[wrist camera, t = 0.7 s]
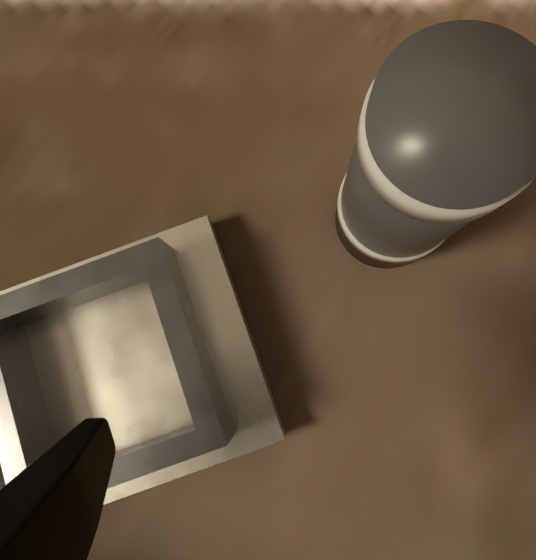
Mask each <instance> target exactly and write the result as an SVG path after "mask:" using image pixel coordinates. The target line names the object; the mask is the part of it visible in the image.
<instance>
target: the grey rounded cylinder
mask: <svg viewBox="0 0 536 560" xmlns="http://www.w3.org/2000/svg"><path fill="white" fill-rule="evenodd" d="M535 178H536V46H535V45H534V44H533V43H532V42H530V41H529V40H527V39H526V38H525V37H523V36H522V35H520V34H518V33H516V32H514V31H512V30H510V29H508V28H505V27H503V26H500V25H497V24H493V23H489V22H483V21H476V20H457V21H448V22H444V23H439V24H436V25H433V26H430V27H427V28H425V29H423V30H421V31H419V32H417V33H415V34H413V35H411V36H410V37H408V38H407V39H405V40H404V41H403V42H402V43H401V44H399V45H398V46H397V47H396V48H395V49H394V50H393V51H392V52H391V53H390V55H389V56H388V57H387V58H386V60H385V61H384V63H383V64H382V66H381V67H380V69H379V71H378V73H377V75H376V78H375V79H374V81H373V82H372V84H371V86H370V88H369V90H368V92H367V95H366V98H365V101H364V105H363V108H362V112H361V115H360V119H359V122H358V128H357V133H356V144H355V148H354V151H353V154H352V158H351V161H350V164H349V168H348V171H347V173H346V175H345V177H344V179H343V181H342V184H341V187H340V191H339V194H338V200H337V209H336V217H335V222H336V229H337V233H338V236H339V238H340V240H341V242H342V244H343V245H344V247H345V248H346V250H347V251H348V252H349V253H350V254H351V255H352V256H354V257H355V258H356V259H358V260H359V261H361V262H363V263H365V264H367V265H370V266H373V267H378V268H396V267H401V266H404V265H407V264H409V263H411V262H413V261H414V260H417V259H419V258H421V257H423V256H425V255H427V254H428V253H430V252H431V251H433V250H434V249H436V248H437V247H439V246H440V245H441V244H442V243H443V242H444V241H445V240H446V239H447V238H448V237H450V236H451V235H452V234H454V233H455V232H457V231H458V230H460V229H461V228H463V227H464V226H466V225H467V224H469V223H470V222H472V221H473V220H475V219H478V218H481V217H483V216H485V215H487V214H489V213H491V212H492V211H494V210H495V209H497V208H498V207H500V206H501V205H503V204H505V203H506V202H508V201H509V200H511V199H512V198H514V197H515V196H517V195H518V194H520V193H521V192H522V191H523V190H524V189H525V188H526V187H528V186H529V185H530V183H531V182H532V181H533V180H534V179H535Z"/></svg>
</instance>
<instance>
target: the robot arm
mask: <svg viewBox="0 0 536 560" xmlns="http://www.w3.org/2000/svg"><path fill="white" fill-rule="evenodd" d="M115 452H116V448H115V442H114V439H113V436H112V433H111V429H110V426H109V423H108V421H107V419H105V418H86V419H84V420H83V421H82V422H81V423H79V424H78V425H77V426H76V427H75V428H73V429H72V430H71V431H70V432H69V433H67V434H66V435H65V436H64V437H63V438H61V439H60V440H59V441H58V442H57V443H55V444H54V445H53V446H52V447H51V448H49V449H48V450H47V451H46V452H45V453H43V454H42V455H41V456H40V457H39V458H37V459H36V460H35V461H34V462H33V463H31V464H30V465H29V466H28V467H27V468H25V469H24V470H23V471H22V472H21V473H19V474H18V475H17V476H16V477H15V478H13V479H12V480H11V481H10V482H9V483H7V484H6V485H5V486H4V487H3V488H1V489H0V560H87V557H88V554H89V551H90V549H91V546H92V543H93V540H94V537H95V534H96V531H97V528H98V524H99V520H100V516H101V512H102V508H103V504H104V500H105V496H106V492H107V487H108V483H109V479H110V475H111V471H112V467H113V463H114V458H115Z"/></svg>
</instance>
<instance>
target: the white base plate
mask: <svg viewBox="0 0 536 560" xmlns="http://www.w3.org/2000/svg"><path fill="white" fill-rule="evenodd" d="M86 418H105V419H107V421H108V423H109V426H110V429H111V433H112V436H113V439H114V442H115V448H116V452H115V458H114V463H113V467H112V471H111V475H110V479H109V483H108V487H107V492H106V496H105V500H104V504H107V503H110V502H113V501H115V500H118V499H121V498H124V497H126V496H129V495H132V494H135V493H138V492H140V491H143V490H146V489H149V488H152V487H154V486H157V485H160V484H163V483H166V482H168V481H171V480H174V479H177V478H180V477H182V476H185V475H188V474H191V473H194V472H196V471H199V470H202V469H205V468H208V467H210V466H213V465H216V464H219V463H222V462H224V461H227V460H230V459H233V458H235V457H238V456H241V455H244V454H247V453H249V452H252V451H255V450H258V449H261V448H263V447H266V446H269V445H272V444H275V443H277V442H280V441H283V440H285V436H286V432H285V429H284V426H283V423H282V420H281V417H280V415H279V412H278V409H277V406H276V403H275V400H274V397H273V395H272V392H271V389H270V386H269V383H268V380H267V377H266V374H265V372H264V369H263V366H262V363H261V360H260V357H259V354H258V352H257V349H256V346H255V343H254V340H253V337H252V334H251V332H250V329H249V326H248V323H247V320H246V317H245V314H244V312H243V309H242V306H241V303H240V300H239V297H238V294H237V292H236V289H235V286H234V283H233V280H232V277H231V274H230V271H229V269H228V266H227V263H226V260H225V257H224V254H223V251H222V249H221V246H220V243H219V240H218V237H217V234H216V231H215V229H214V226H213V223H212V222H211V220H210V219H209V218H208V216H207V215H206V216H204V217H201V218H198V219H196V220H193V221H190V222H187V223H185V224H182V225H179V226H177V227H174V228H171V229H168V230H166V231H163V232H160V233H158V234H155V235H152V236H149V237H147V238H144V239H141V240H139V241H136V242H133V243H130V244H128V245H125V246H122V247H120V248H117V249H114V250H111V251H109V252H106V253H103V254H101V255H98V256H95V257H92V258H90V259H87V260H84V261H82V262H79V263H76V264H73V265H71V266H68V267H65V268H63V269H60V270H57V271H54V272H52V273H49V274H46V275H44V276H41V277H38V278H35V279H33V280H30V281H27V282H25V283H22V284H19V285H16V286H14V287H11V288H8V289H6V290H3V291H0V489H1V488H3V487H4V486H5V485H6V484H7V483H9V482H10V481H11V480H12V479H13V478H15V477H16V476H17V475H18V474H19V473H21V472H22V471H23V470H24V469H25V468H27V467H28V466H29V465H30V464H31V463H33V462H34V461H35V460H36V459H37V458H39V457H40V456H41V455H42V454H43V453H45V452H46V451H47V450H48V449H49V448H51V447H52V446H53V445H54V444H55V443H57V442H58V441H59V440H60V439H61V438H63V437H64V436H65V435H66V434H67V433H69V432H70V431H71V430H72V429H73V428H75V427H76V426H77V425H78V424H79V423H81V422H82V421H83V420H84V419H86ZM104 504H103V505H104Z"/></svg>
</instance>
